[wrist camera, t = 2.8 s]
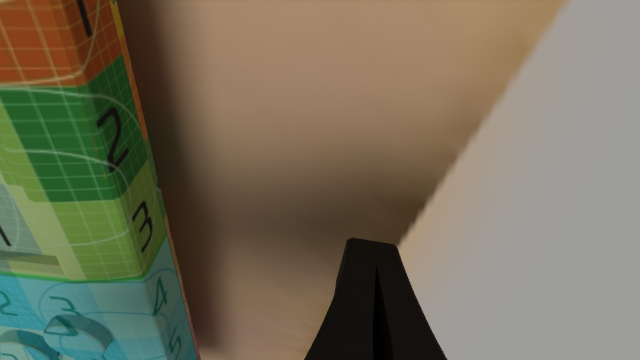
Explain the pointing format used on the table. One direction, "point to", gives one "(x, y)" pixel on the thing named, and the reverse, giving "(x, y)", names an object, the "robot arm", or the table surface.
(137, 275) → the puzzle game
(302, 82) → the table surface
